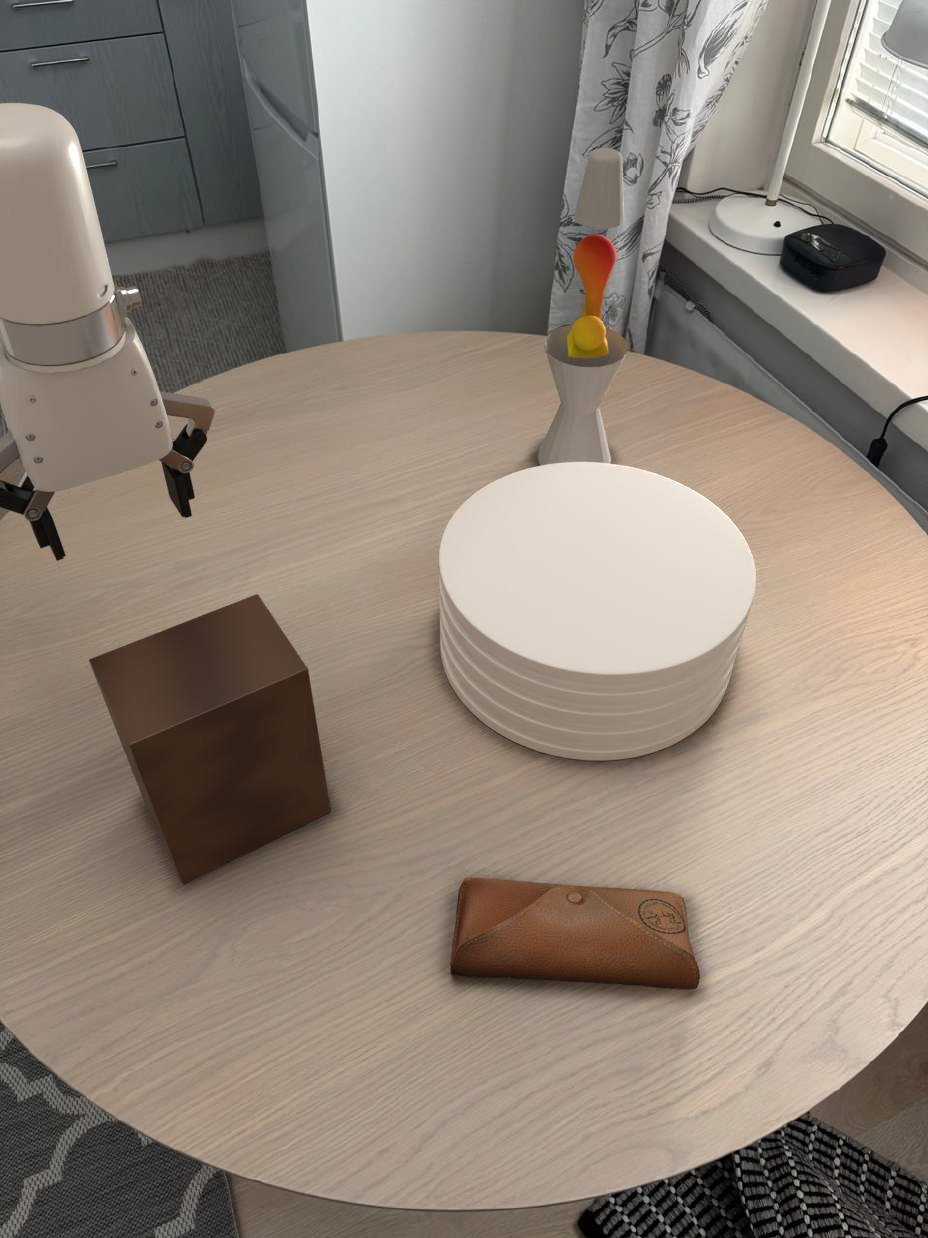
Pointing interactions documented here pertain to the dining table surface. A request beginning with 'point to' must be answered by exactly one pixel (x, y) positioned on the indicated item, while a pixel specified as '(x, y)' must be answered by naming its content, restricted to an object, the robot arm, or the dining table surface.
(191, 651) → the brown box
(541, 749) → the plate stack
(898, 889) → the dining table surface
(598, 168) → the lava lamp
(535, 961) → the sunglasses case
